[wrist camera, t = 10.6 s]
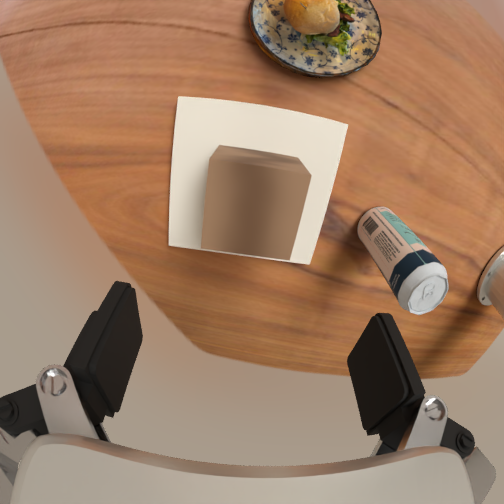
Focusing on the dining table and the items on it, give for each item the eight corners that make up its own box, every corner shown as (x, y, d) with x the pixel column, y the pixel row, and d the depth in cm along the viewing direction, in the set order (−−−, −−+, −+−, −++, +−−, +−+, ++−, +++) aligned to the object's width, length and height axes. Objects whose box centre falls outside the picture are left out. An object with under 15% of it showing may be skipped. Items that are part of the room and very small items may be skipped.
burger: (376, 85, 20) (417, 85, 14) (251, 77, 20) (251, 67, 14) (368, -16, 14) (401, -41, 8) (245, -29, 14) (244, -66, 8)
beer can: (357, 248, 29) (400, 325, 19) (353, 209, 27) (405, 280, 17) (394, 238, 28) (447, 308, 18) (393, 200, 26) (457, 263, 16)
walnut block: (298, 157, 23) (311, 175, 18) (282, 226, 27) (289, 260, 22) (219, 144, 23) (209, 159, 17) (210, 216, 26) (200, 248, 21)
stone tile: (344, 123, 22) (348, 124, 21) (307, 259, 30) (309, 264, 29) (181, 96, 21) (178, 96, 20) (171, 240, 29) (168, 245, 28)
